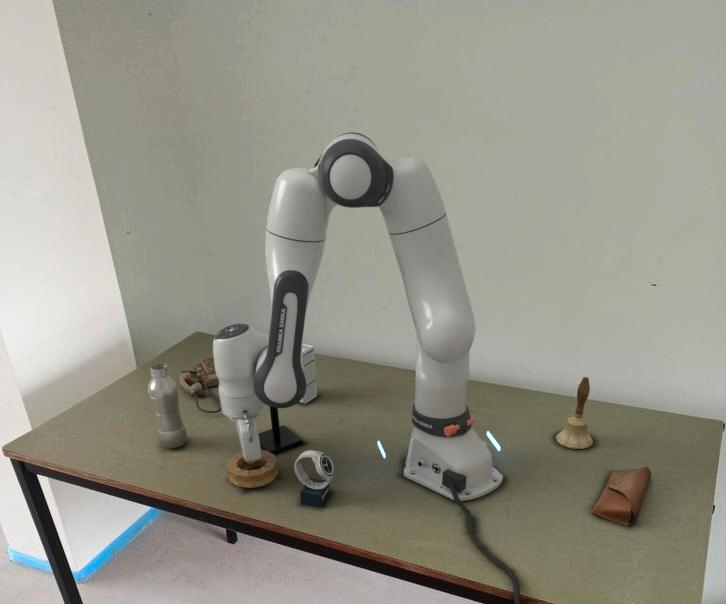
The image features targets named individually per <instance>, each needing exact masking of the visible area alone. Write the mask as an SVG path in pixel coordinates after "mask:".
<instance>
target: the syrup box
mask: <svg viewBox="0 0 726 604" xmlns="http://www.w3.org/2000/svg"><path fill="white" fill-rule="evenodd" d="M301 349H302V351H303V358H304V373H305V379H306V392H305V395H304V396H303V398H302V399H301V400H300V401H299V402H298V403H300V404H304V405H306V404H307V403H309V402H311V401H312V400H314V399H315V398H316V397H318V390H317V377H316V360H315V357H316V356H315V348H314V345H311V344H310V345H309V344H305V343H302V347H301Z"/></svg>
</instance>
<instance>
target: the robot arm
mask: <svg viewBox="0 0 726 604" xmlns="http://www.w3.org/2000/svg"><path fill="white" fill-rule="evenodd" d="M336 206H341V207H343V208H348V209H359V208H378V209H379V211H380V212H381V216H382V217H383V220H384V223H385V227H386V230H387V233H388V237H389V239H390V243H391V245H392V249H393V252H394V255H395V260H396V262H397V266H398V268H399V271H400V276H401V280H402V283H403V287H404V291H405V295H406V299H407V303H408V307H409V310H410V314H411V318H412V321H413V325H414V328H415V332H416V337H415V338H416V339H415V340H416V341H415V373H414V374H415V376H414V380H415V381H414V402H413V404H412V409H411V422H412V425H413V426H412V430H411V435H410V439H409V444H408V451H407V454H406V457H405V463H404V464H405V466H404V469H403V474H402V476H403V477H405V478H406V479H408V480H411V481H413V482H415V483H416V484H419V485H421V486H423V487H425V488H427V489H430V490H432V491H433V492H435V493H438V494H440V495H442V496H444V497H446V498H449V499H450V500H452V501H454V502H455V503H456V504H457V506H458V507H459V508H460V509H461V510H462V511H463V512H464V514H465V515H466V518H467V522H468V525H467V526H468V528H467V530H468V533H469V535H470V538H471V540H472V541H473V543H474V544H475V545H476V547H477V548H478V549H479V550H480V551H481V553H483V555H485V556H486V557H487V559H489V561H491V562H492V563H494V565H496V567H497V566H498V568H500V569H502V571H504V572H505V573H506V574H507V575H508V576H509V578H510V579H511V582H512V584H513V599H514V604H521V603H522V601H521V587H520V581H519V579H518V577H517V575H516V574H515V573H514V571H513V570H512V569H511V568H510V567H509V566H508V565H507V564H505V563H504V562H503V561H501V560H500V559H498V558H497V557H496V556H495V555H493V553H492V552H490V551H489V550H488V548H487V547H486V546H485V545H484V544H483V543H482V542H481V541H480V539H479V538H478V536H477V535H476V532H475V529H474V517H473V515H472V513H471V511H470V510H469V508H467V506H466V505H465V504H464V503H463V502H464V501H465V502H466V501H470V500H475V499H478V498H481V497H483V496H486V495H487V494H489V493H491V492H493V491H494V490H497V488H499V487H500V486H501V484H502V483H503V480H504V475H503V474H502V473H501V472H500V471H499V470H497V469H496V468H495V467H494V465H493V464H494V463H493V457H492V456H493V455H492V453H491V451H490V450H489V446H488V443H487V441H486V440H482V439H481V438H480V436H479V434H478V433H477V432H476V430H475V429H474V428H473V424H475V423H476V421H475V420H476V419H477V418H476V417H471V413H470V409H469V406H468V396H469V395H468V394H469V384H470V383H469V381H470V350H471V348H472V345H473V343H474V340H475V336H476V331H477V330H476V329H477V327H476V322H475V321H476V320H475V317H474V316H475V315H474V311H473V306H472V301H471V298H470V296H469V294H468V291H467V287H466V283H465V278H464V276H463V272H462V268H461V264H460V263H461V262H460V260H459V255H458V252H457V248H456V244H455V240H454V237H453V234H452V230H451V225H450V221H449V218H448V214H447V211H446V208H445V204H444V200H443V197H442V195H441V192H440V189H439V187H438V184H437V182H436V180H435V177H434V175H433V173H432V171H431V169H430V167H429V165H428V163H426V162H425V161H424V160H423V159H421V158H419V157H415V156H404V157H403V156H402V157H399V158H397V159H395V160H394V159H387V158H386V157H384V156H383V155H382V153H381V152H380V151H379V149H378V146H377V145H376V144H375V142H374V141H372V140H371V138H369V137H368V136H367V135H364V134H362V133H359V132H352V131H351V132H346V133H345V132H344V133H342V134H340V135H338V136H337V137H335V138H334V139H332V140H331V141H330V142H329V143H328V144H327V146H325V148H324V150H323V152H322V154H321V155H320V157H319V158H318V159H317V160H316V162H315V163H314V165H313V167H311V168H306V167H291V168H288V169H285V170H283V171H282V172H281V173H280V174H279V175H278V177H277V178H276V180H275V183H274V187H273V191H272V195H271V198H270V203H269V206H268V213H267V218H266V225H265V227H266V228H265V240H264V244H265V245H264V247H265V249H264V250H265V264H266V273H267V279H268V287H269V293H270V307H271V308H270V321H269V330H268V331H269V332H268V333H264V332H262V331H260V330H257V329H255V328H254V327H252V326H251V325H249V324H247V323H235V324H234V323H233V324H231V325H227V326H225V327H223V328H222V329H220V330H219V331H218V332H217V333H216V334H215V336H214V339H213V341H212V342H213V343H212V356H213V359H214V365H215V372H216V375H217V377H218V379H219V385H218V388H217V389H218V390H217V391H218V396H219V401H220V403H221V409H222V410H221V413H222V414H223V415H224V416H226V417H228V418H229V420H230V421H231V422H233V423H234V427H235V430H236V434H237V438H238V442H239V444H240V449H241V452H242V453H243V457H244V460H245V461H246V462H247V463H254V462H255V461H256V460H260V459H261V457H262V453H261V450H262V449H261V446H260V440H259V433H260V432H259V430H258V429H259V428H258V425H257V423H256V419H257V418H258V417H259V415H260V413H261V412H262V411H263V410H264V407H265V405H266V406H267V407H269V408H270V407H273V408H278V409H287V408H290V407H293V406H295V405H297V404H298V403H300V402H299V401H300V400H301V399H302V398H303V396H304V395H305V392H306V379H305V373H304V358H303V351H302V349H301V347H302V344H303V337H304V331H305V330H304V329H305V321H306V314H307V309H308V307H309V306H308V305H309V302H310V298H311V295H312V292H313V289H314V286H315V283H316V280H317V276H318V273H319V270H320V267H321V263H322V260H323V255H324V252H325V248H326V247H325V246H326V240H327V232H328V226H329V220H330V216H331V214H332V211H333V210H334V209H335V208H336ZM486 436H487V437H488V439H489V440H490V441H491V443H492V444H493V445H494V447H495V448H496V450H497V451H498V452H500V451H501V446H500V445H499V443H498V442H497V440H496V439H495V437H493V435H492V433H490V431H489V430H488V431H487V432H486ZM377 446H378V448H379V451H380V453H381V455H382V457H383V459H386V453H385V451H384V448H383V446H382V444H381V442H380V440H378V441H377Z"/></svg>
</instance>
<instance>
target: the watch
mask: <svg viewBox="0 0 726 604" xmlns="http://www.w3.org/2000/svg"><path fill="white" fill-rule="evenodd" d="M303 458H311V459H312V462H313V463H314V465H315V469H316V472H317V474H318V475H319V476H320V477H321V478H317V477H311V476H310V477H309V475H308V474H307V473H306V471H305V469H304V467H303V464H301V459H303ZM293 471H294V473H295V475H296V477H297V478H298V481H299V482H300V484H302V485H303V487H302V488H301V490H300V491H299V494H300V505H303V506H309V507H316V508H320V509H321V508H322V507H323V505H324V503H325V502H326V501H327V498H328V497H329V495H330V493H331V484H330V482H331V481H332V480H333V477H334V475H335V464H334V461H333V459H332V457H330V455H329V454H327V453H323V452H322V451H320V450H319V451H318V450H314V449H308V450H305V451H303V452H302V453H300V454H299V456H298V457H297V459H295V461H294V469H293Z"/></svg>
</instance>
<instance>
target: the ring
mask: <svg viewBox="0 0 726 604" xmlns="http://www.w3.org/2000/svg"><path fill="white" fill-rule="evenodd" d="M261 453H262V457H261V459H260V460H256V461H255V462H254V463H247V462H246V461H245V460H244V457H243V453H242V451H240V452H238V453H236V454H234V455H232V456H231V457H230V458H229V460H228V461H227V462H226V467H227V468H226V469H227V474H228V479H229V482H230V483H232V484H234V485H235V486H237V487H241V488H249V489H252V488H258V487H264V486H265V485H267V484H269V483H271V482H273V481H274V480H275V479H276V477H277V476H278V474H279V469H278V460H277V458H276V454H272V453H270V452H268V451H264V450H262V449H261ZM254 466H256V467H260V468H257V469H252V470H248V469H247V470H246V468H250V467H254Z"/></svg>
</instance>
